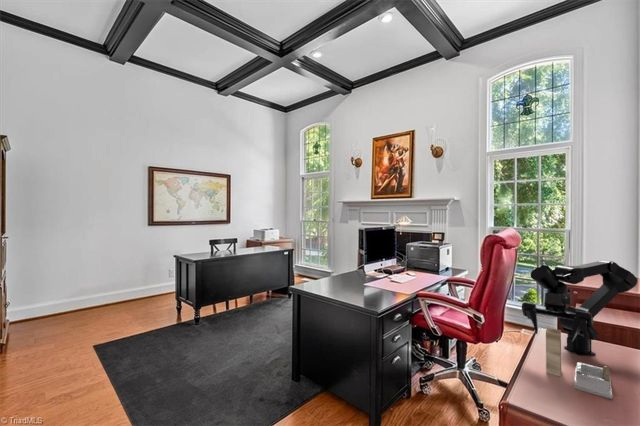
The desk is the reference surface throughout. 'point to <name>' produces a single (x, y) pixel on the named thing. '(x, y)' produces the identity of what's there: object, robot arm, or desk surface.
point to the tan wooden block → (553, 351)
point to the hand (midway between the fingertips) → (553, 337)
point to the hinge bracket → (593, 379)
